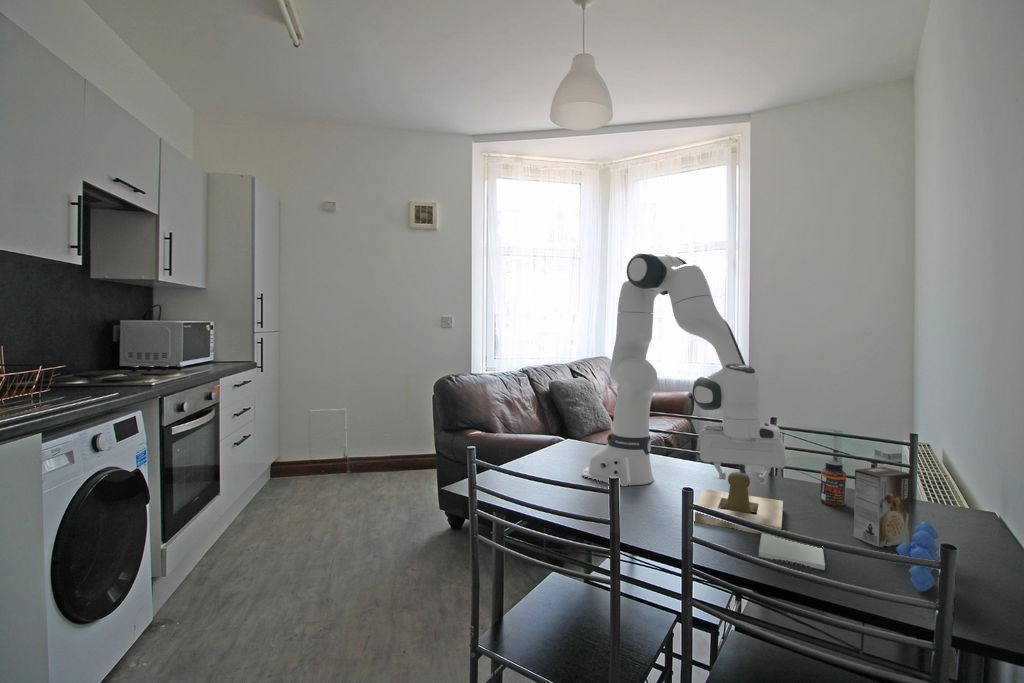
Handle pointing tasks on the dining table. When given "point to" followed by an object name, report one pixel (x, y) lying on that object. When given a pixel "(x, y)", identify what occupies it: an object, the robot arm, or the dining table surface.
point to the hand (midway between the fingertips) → (742, 481)
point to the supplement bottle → (833, 484)
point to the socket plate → (765, 509)
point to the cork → (738, 493)
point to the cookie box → (882, 506)
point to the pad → (791, 551)
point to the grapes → (921, 554)
